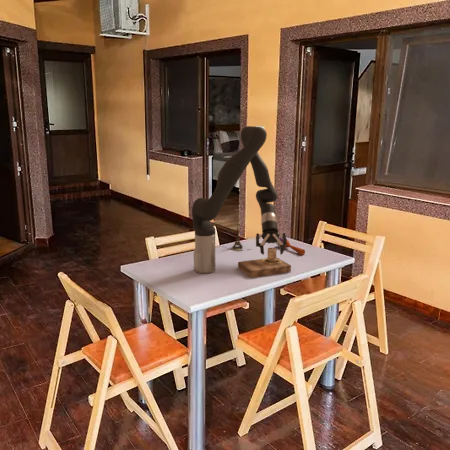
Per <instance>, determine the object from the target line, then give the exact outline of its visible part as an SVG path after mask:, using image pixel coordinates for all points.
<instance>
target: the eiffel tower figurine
mask: <svg viewBox="0 0 450 450" xmlns="http://www.w3.org/2000/svg"><path fill="white" fill-rule="evenodd" d="M236 229H237V230H236V238H235V241H234V245H232V248H231V249H229V248H228V247H227V248H226V249H228V250H231V251H233V252H243V251H244V250H243V247H244V246H243V245H242V243H241V241H240V237H239V226H238V225H237V226H236ZM250 250H252V248H249V249H247V251H250Z"/></svg>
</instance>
